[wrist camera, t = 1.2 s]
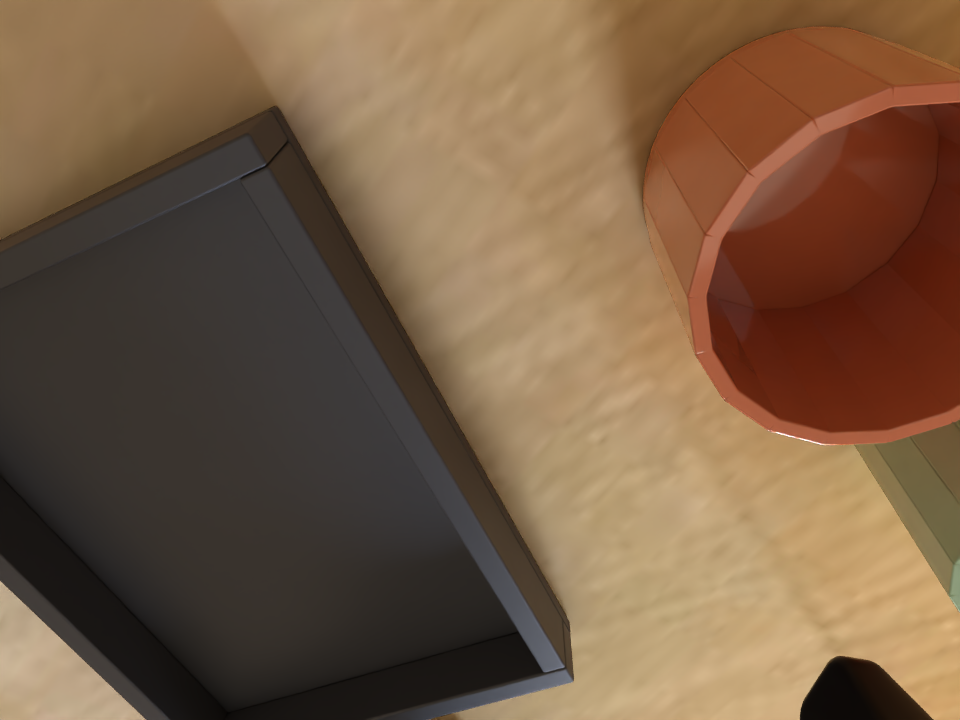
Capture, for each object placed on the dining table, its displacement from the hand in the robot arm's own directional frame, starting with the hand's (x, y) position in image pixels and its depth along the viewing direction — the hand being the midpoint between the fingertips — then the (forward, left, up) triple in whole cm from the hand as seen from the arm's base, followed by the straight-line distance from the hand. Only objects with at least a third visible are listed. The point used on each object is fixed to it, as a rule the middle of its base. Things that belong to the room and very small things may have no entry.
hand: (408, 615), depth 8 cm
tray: (-6, +11, -14) cm, 18 cm away
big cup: (-3, -7, -14) cm, 16 cm away
